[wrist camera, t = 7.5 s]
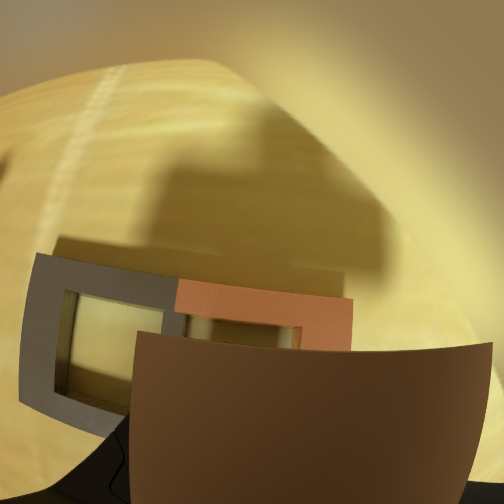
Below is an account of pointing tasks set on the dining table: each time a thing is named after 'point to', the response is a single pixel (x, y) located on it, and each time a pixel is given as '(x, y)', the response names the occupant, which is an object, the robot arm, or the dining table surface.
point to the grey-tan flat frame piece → (174, 324)
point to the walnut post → (303, 423)
